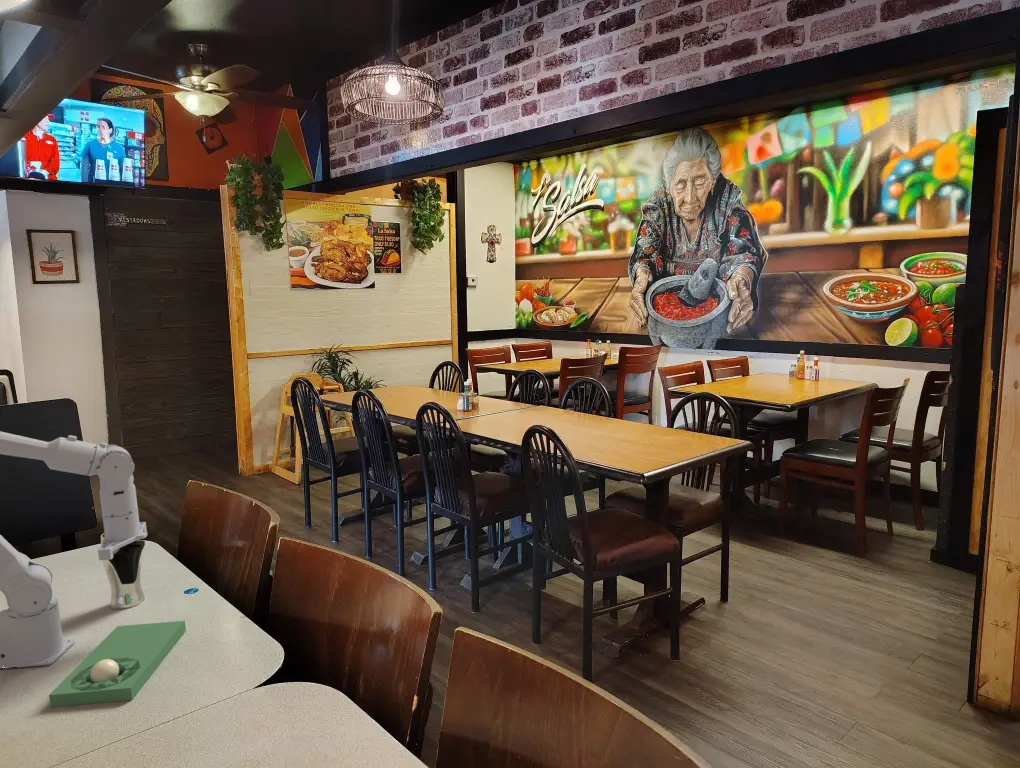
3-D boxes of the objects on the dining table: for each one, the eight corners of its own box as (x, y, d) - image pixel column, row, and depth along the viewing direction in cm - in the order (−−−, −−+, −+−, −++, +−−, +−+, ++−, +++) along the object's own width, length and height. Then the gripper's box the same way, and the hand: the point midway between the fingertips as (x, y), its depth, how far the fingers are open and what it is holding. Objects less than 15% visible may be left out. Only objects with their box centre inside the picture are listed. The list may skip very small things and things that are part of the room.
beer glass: (130, 611, 137) (121, 539, 135) (100, 609, 138) (90, 538, 136) (154, 595, 144) (146, 527, 142) (125, 594, 145) (117, 526, 143)
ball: (83, 667, 108) (94, 660, 112) (88, 692, 108) (99, 684, 112) (111, 659, 109) (120, 652, 113) (116, 684, 109) (125, 677, 113)
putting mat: (50, 707, 105) (48, 695, 105) (118, 636, 127) (117, 626, 126) (132, 699, 106) (130, 687, 106) (185, 630, 128) (184, 620, 127)
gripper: (124, 523, 119) (133, 597, 121) (159, 498, 133) (167, 565, 135) (82, 526, 118) (91, 601, 120) (121, 501, 132) (129, 568, 134)
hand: (129, 582), depth 127 cm, fingers closed
